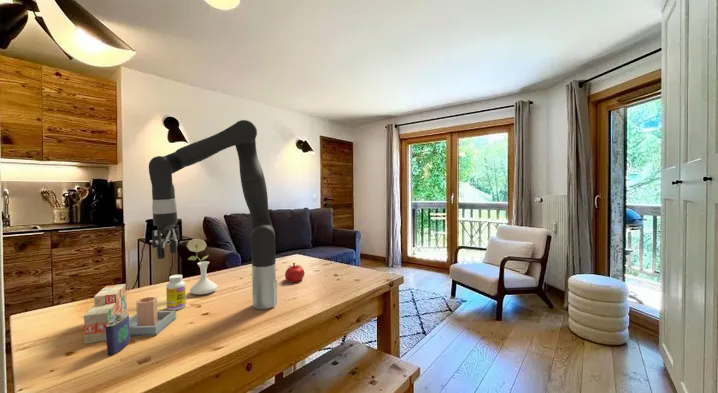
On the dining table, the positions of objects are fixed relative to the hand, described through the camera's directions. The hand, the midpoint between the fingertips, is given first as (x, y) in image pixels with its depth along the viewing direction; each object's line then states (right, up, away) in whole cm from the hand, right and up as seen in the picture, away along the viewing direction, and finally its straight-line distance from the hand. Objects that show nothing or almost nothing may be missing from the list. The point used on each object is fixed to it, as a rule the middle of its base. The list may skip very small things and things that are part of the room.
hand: (167, 255), depth 115 cm
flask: (-3, -25, -19) cm, 32 cm away
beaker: (-4, -23, -5) cm, 24 cm away
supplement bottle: (-4, -24, +12) cm, 27 cm away
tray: (-4, -24, -5) cm, 25 cm away
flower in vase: (-2, -23, +29) cm, 37 cm away
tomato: (+37, -22, +47) cm, 63 cm away
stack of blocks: (-18, -25, -6) cm, 31 cm away
